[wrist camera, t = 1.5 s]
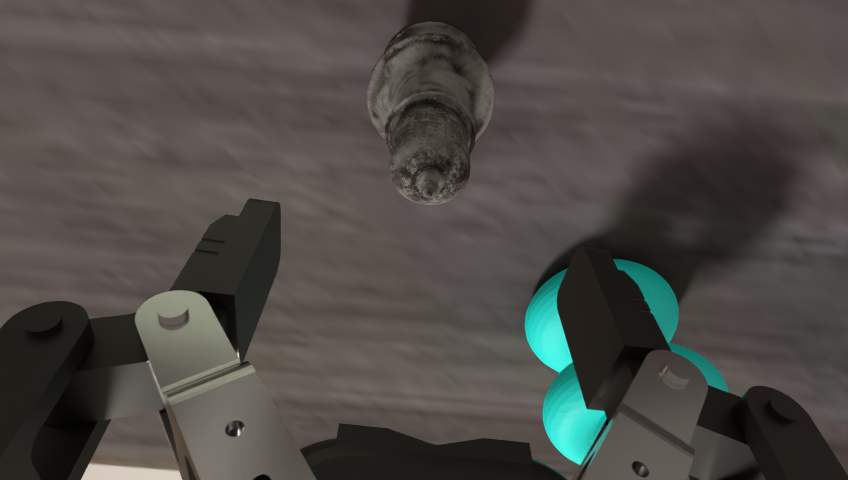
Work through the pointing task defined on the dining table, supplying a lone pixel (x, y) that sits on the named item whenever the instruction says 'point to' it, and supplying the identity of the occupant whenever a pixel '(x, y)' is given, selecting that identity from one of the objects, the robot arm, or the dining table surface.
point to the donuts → (546, 337)
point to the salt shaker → (430, 109)
